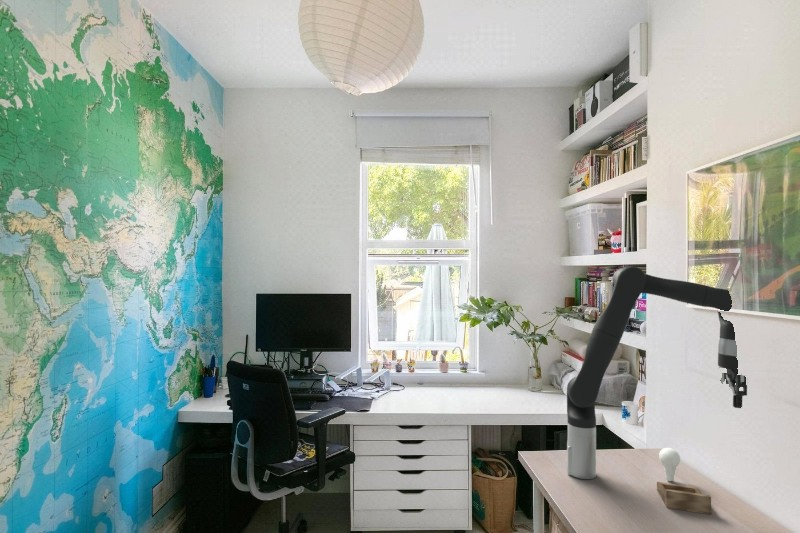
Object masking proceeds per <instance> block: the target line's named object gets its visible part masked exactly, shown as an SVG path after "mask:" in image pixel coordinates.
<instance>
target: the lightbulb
mask: <svg viewBox="0 0 800 533" xmlns="http://www.w3.org/2000/svg"><path fill="white" fill-rule="evenodd" d="M658 457H659V461H660V462H661V465H662V466H663V472H664V477H665V479H666V480H667V481H668V482H674V480H675V475H676V471H677V467H679V465H680V463H681V457H680V454H679V453H678V451H676V450H675V449H673V448H671V447H664V448H662V449H661V450H660V451H659V453H658Z"/></svg>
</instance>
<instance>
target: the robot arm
mask: <svg viewBox="0 0 800 533" xmlns="http://www.w3.org/2000/svg"><path fill="white" fill-rule="evenodd" d="M612 283H613V284H612V285H613V286H614V288H613V291H612V294H611V297H610V300H609V301H608V304H607V305H606V307H605V308H604V310H602V312H601V313H600V315H599V317H598V318H597V320H596V321H595V324H594V325H593V327H592V330H591V333H590V335H589V338H588V341H587V344H586V348H585V354H584V359H583V362H582V366H581V368H580V370H579V372H578V374H577V376H574V377H572V378H571V379H570V380H569V381H568V382H567V386H566V413H567V415H566V416H567V440H566V470H567V475H568V476H572V477H574V478H577V479H582V480H593V479H595V478H596V477H597V417H596V406H595V405H596V404H595V403H596V401H597V399H598V395H599V392H600V389H601V385H602V383H603V379H604V376H605V373H606V371H607V369H608V367H609V366H610V363H611V362H612V360H613V358H614V356H615V353H616V351H617V349H618V347H619V345H620V343H621V340H622V338H623V335H624V332H625V330H626V327H627V325H628V322H629V319H630V315H631V312H632V311H633V308H634V306H635V304H636V302H638V299H639V297H640V296H641V294H648V295H653V296H659V297H662V298H666V299H670V300H673V301H677V302H681V303H685V304H690V305H694V306H697V307H698V306H699V307H702V308H703V307H704V308H713V309H720V310H724V311H729V310H730V309H731V307H732V305H731V304H732V300H731V296H730V294H729V291H728V290H729V289H727V288H726V289H724V288H719V287H714V286H709V285H706V284H700V283H695V282H691V281H686V280H685V281H684V280H677V279H669V278H664V277H657V276H654V275H650V274H647V273H645V272H644V271H643V269H642V268H639V267H638V266H623V267H619V269H617V270H616V271H615V272H614V274H613V276H612ZM717 315H718V320H719V324H720V325H719V340H718V344H717V345H718V346H717V347H718V348H717V350H718V351H717V366H718V368H726V369H727V373H722V378H721V380H720V381H721V383H722V384H723V382H724V381H725V379H726V384H729V387H730V389H731V391H732V394H733V395H732V406H733V408H735V409H742V408H743V397H744V396H748V384H747V385H746V377H745V376H746V375H742V374H741V375H737V374H738V369H737V368H738V360H737V358H736V357H737V345H736V341H735V332H734V327H733V324H732V323H731V322H730V321H727V320H724V319H723V317H722V316H721V313H720V312H718V311H717ZM735 383H736V385H735ZM740 387H743V391H739V388H740ZM741 407H742V408H741Z"/></svg>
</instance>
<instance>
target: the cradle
mask: <svg viewBox="0 0 800 533" xmlns="http://www.w3.org/2000/svg"><path fill="white" fill-rule="evenodd" d="M656 490H657V493H658V495H659V496H660V498H661V500H662V502H663V504H664V505H665V508H667V509H674V510H682V511H687V512H693V513H698V514H700V513H701V514H706V515H712V496H711V495H710V494H704V493H702V491H701V489H699V487H697V486H692V485H691V486H690V485H681V484H677V483H670V482H669V483H668V482H662V481H657V482H656Z"/></svg>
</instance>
